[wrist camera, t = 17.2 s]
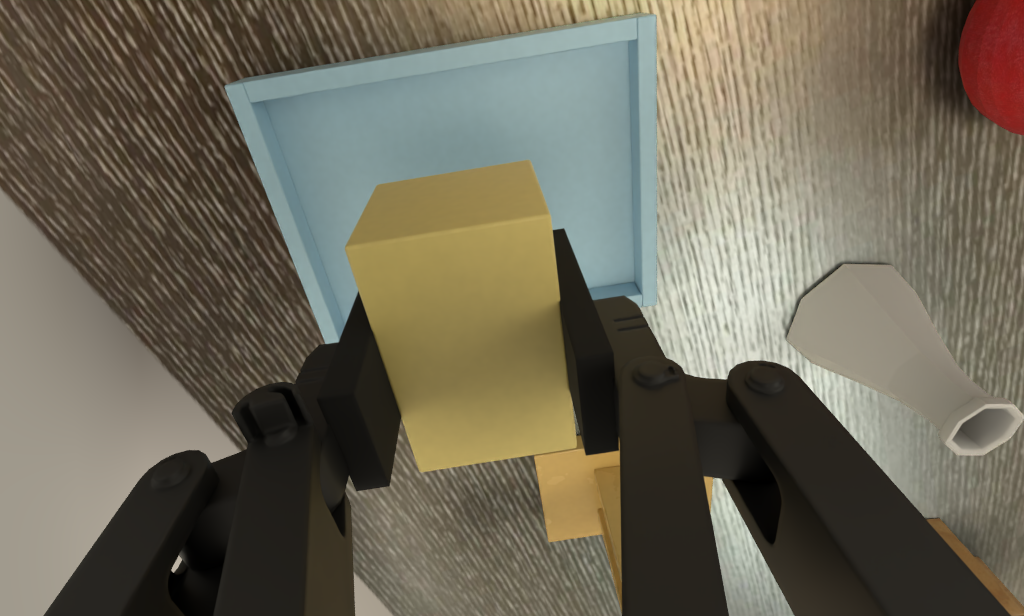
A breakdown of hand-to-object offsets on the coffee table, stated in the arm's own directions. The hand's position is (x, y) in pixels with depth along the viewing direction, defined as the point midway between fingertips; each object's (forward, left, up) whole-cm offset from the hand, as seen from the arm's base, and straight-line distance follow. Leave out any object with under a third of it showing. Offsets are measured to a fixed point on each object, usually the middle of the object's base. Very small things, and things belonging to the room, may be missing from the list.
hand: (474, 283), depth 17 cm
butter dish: (0, -1, -11) cm, 11 cm away
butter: (0, 0, 0) cm, 0 cm away
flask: (+21, -12, -11) cm, 26 cm away
